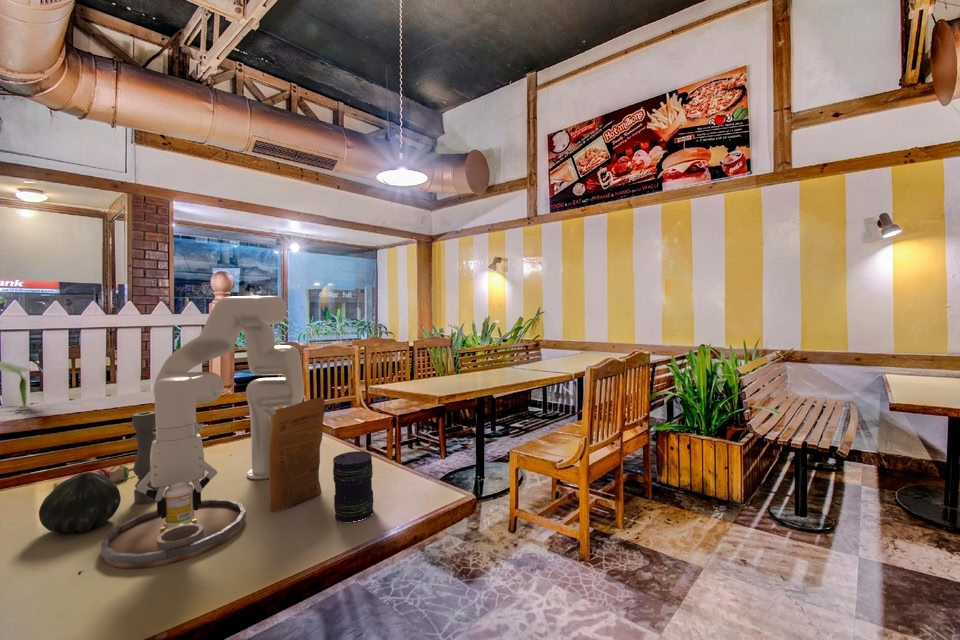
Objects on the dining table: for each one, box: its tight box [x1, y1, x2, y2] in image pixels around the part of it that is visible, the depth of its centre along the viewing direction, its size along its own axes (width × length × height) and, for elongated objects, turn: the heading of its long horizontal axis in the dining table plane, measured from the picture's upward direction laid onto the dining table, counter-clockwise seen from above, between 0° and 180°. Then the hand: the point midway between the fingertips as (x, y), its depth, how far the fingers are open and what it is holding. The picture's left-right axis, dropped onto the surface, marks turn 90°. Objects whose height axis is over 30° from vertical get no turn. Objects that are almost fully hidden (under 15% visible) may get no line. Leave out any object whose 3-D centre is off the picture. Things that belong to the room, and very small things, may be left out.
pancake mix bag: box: [268, 396, 326, 512], centre depth 123 cm, size 7×19×28 cm, turn 148°
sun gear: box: [160, 519, 197, 534], centre depth 106 cm, size 7×7×2 cm
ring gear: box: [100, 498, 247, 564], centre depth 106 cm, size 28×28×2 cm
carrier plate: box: [102, 506, 246, 570], centre depth 106 cm, size 28×28×4 cm
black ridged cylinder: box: [332, 450, 375, 523], centre depth 114 cm, size 10×10×15 cm
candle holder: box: [131, 410, 157, 505], centre depth 127 cm, size 6×6×25 cm
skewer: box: [52, 464, 134, 490], centre depth 139 cm, size 21×6×5 cm, turn 151°
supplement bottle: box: [163, 482, 194, 526], centre depth 99 cm, size 5×5×10 cm
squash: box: [38, 471, 122, 534], centre depth 111 cm, size 14×15×15 cm
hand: (179, 511), depth 99 cm, fingers closed on supplement bottle, 5 cm apart
